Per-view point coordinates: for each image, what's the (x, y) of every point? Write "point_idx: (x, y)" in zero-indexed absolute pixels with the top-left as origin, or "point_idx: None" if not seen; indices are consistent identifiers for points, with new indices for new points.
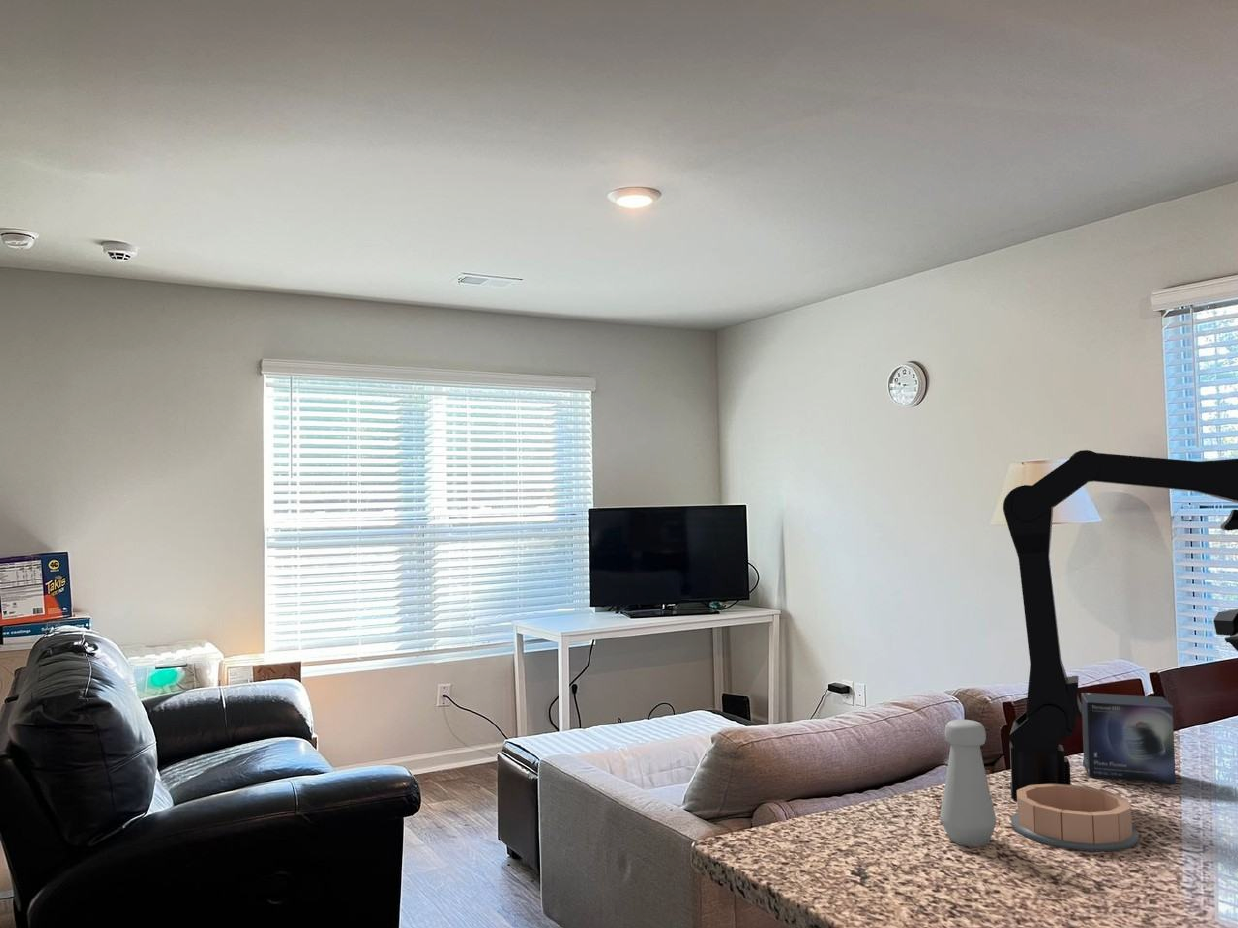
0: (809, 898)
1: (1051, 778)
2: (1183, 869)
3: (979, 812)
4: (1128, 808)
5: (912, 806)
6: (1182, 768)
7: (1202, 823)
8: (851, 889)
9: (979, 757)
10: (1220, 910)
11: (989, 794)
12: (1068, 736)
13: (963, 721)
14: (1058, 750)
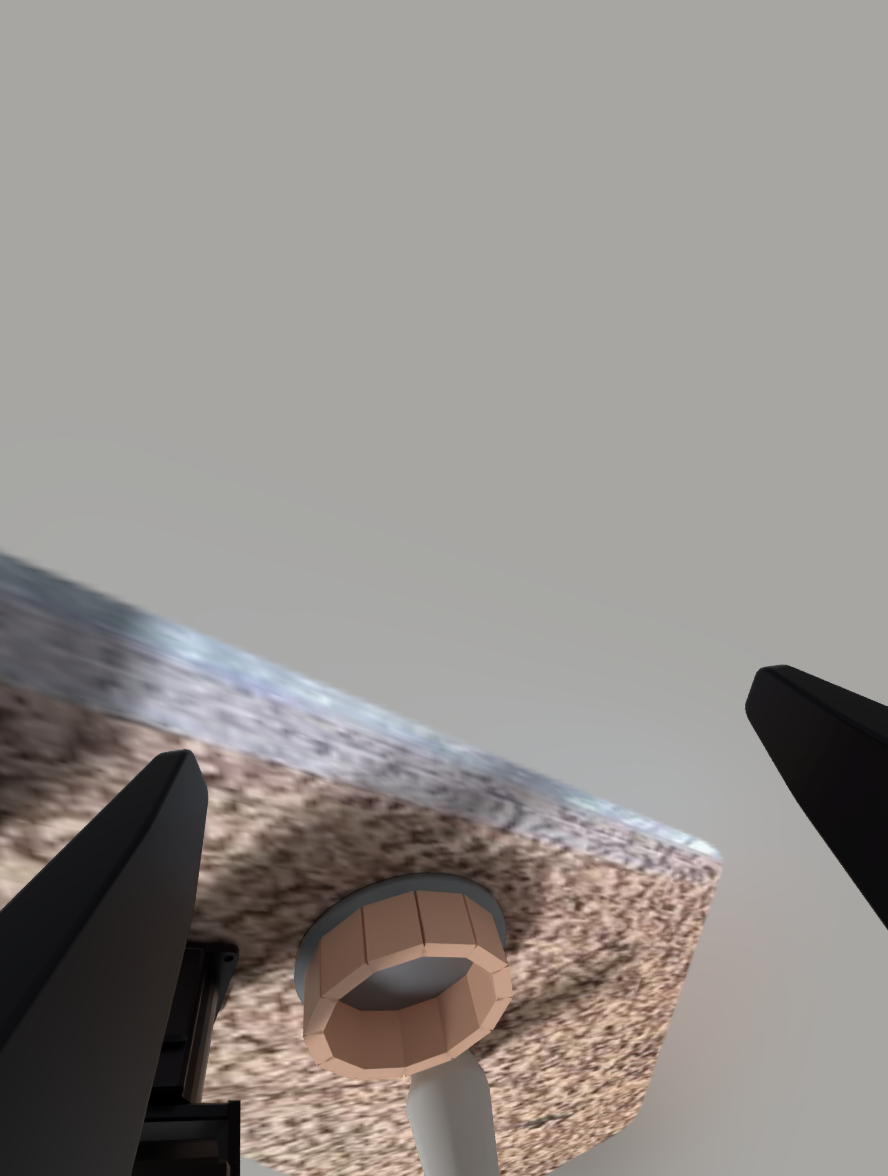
0: (593, 1138)
1: (208, 1021)
2: (585, 851)
3: (491, 1111)
4: (482, 949)
5: (271, 1122)
6: None
7: (359, 748)
8: (579, 1120)
9: None
10: (709, 852)
11: (483, 1136)
12: (215, 1143)
13: None
14: (176, 1093)
